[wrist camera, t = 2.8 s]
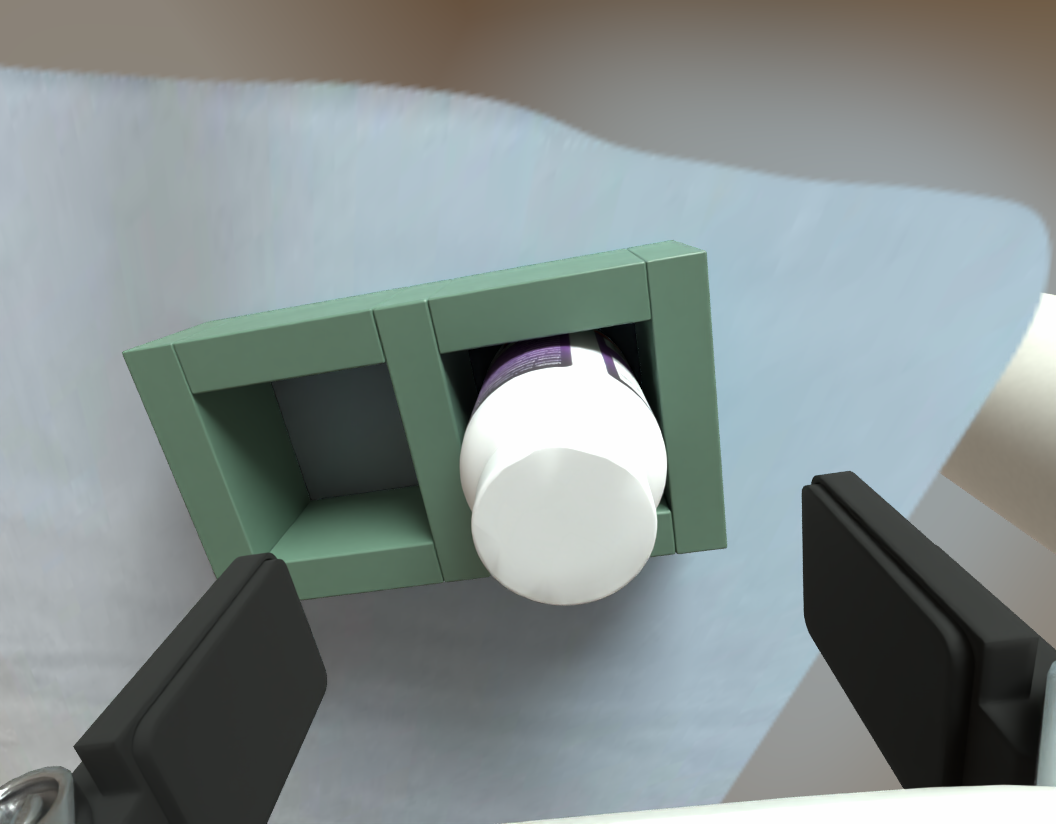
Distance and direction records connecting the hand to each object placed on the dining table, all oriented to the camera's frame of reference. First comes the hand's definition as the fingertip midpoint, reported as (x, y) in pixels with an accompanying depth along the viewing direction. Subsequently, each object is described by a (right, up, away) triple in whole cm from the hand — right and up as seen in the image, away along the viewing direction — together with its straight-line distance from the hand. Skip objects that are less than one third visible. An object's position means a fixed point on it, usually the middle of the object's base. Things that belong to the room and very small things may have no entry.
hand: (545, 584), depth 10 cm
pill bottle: (+1, +4, +11) cm, 12 cm away
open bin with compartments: (-3, +3, +11) cm, 12 cm away
